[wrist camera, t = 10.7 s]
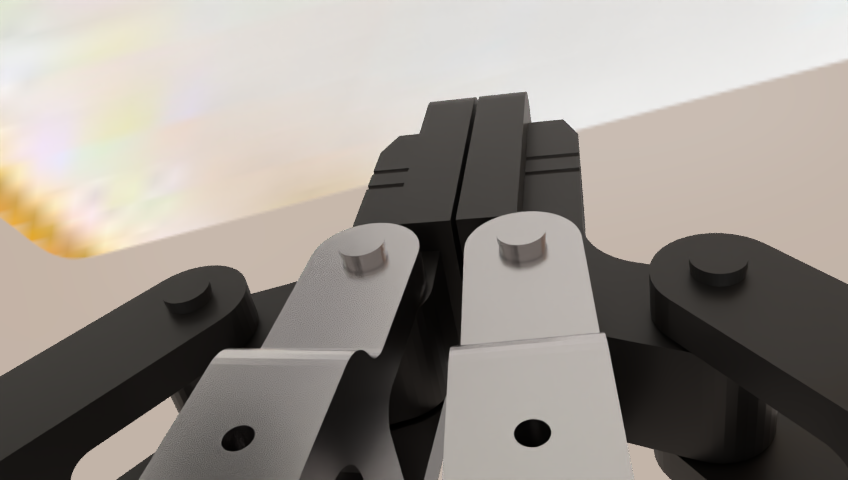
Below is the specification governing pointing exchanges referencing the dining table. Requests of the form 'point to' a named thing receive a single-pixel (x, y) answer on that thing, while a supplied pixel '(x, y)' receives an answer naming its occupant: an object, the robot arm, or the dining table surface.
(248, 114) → the dining table surface
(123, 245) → the dining table surface
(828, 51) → the dining table surface
